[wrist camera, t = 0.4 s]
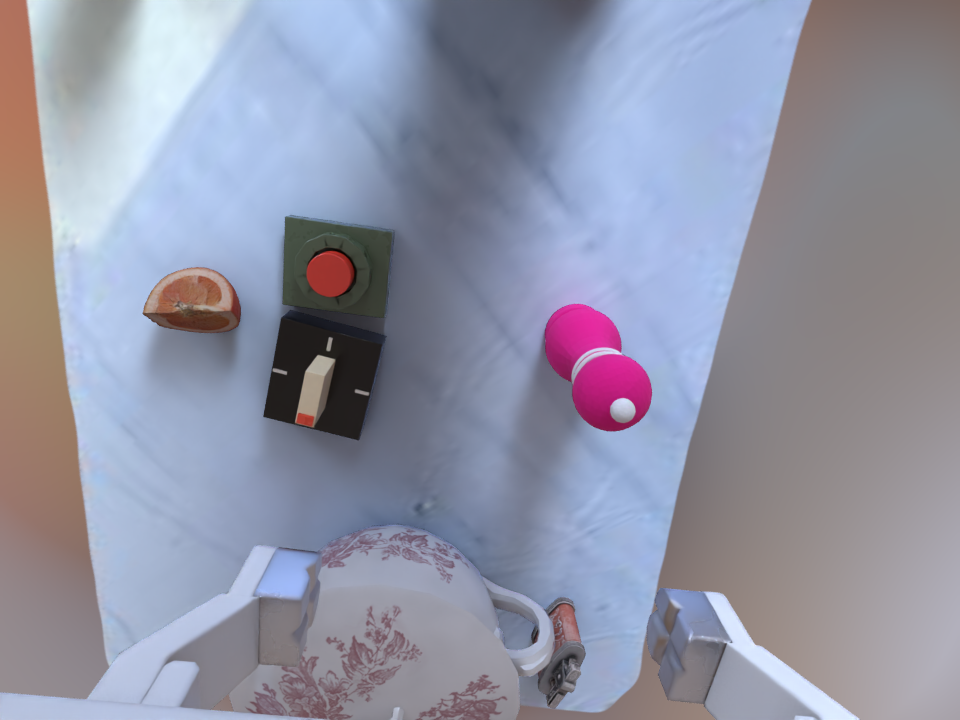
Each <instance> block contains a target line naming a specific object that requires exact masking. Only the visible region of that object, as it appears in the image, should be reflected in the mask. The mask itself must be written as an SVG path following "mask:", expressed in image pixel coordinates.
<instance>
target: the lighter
mask: <svg viewBox="0 0 960 720" xmlns="http://www.w3.org/2000/svg"><path fill="white" fill-rule="evenodd" d="M546 611H547V612H548V614H549V616H550V618H551V620H552V622H553V626H554V632H555V645H556V646H555V649H554V652H553V654H552V657H551V660H550V663H549V664H548V665H547V666H545V667H544V668H543V669H542V670H540V671H539V672H538V676H539V679H538V688H539V691H540V692H541V693H543V694H545V695H547V696H546V700H547V706H548V707H550V708H552V709H555V708H556V707H557V706H558V704H559V703H560V702H561V700H562V699H563V698H564V696H565V695H566V694H567V692H570V693H572V692H573V691H574V689H575V686H576V680H577V679H578V678H579V676H580V675H581V671H580V666H581V664H582V662H583V660H584V658H585V654H586V653H585V649H584V646H583V645H582V643H581V639H580V635H579V631H578V627H577V622H576V618H575V614H574V612H575V607H574V604H573V601H572V600H571V599H569V598H566V597H560V598H557V599H556V600H555V601H554V602H553V603H552V604H551V605H550V606H549V607H548V608H547V609H546ZM538 638H539V633H538V628H537V626H536V625H535V628H534V630H533V633H532V643H533V644H535V643H536V642H538Z"/></svg>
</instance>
